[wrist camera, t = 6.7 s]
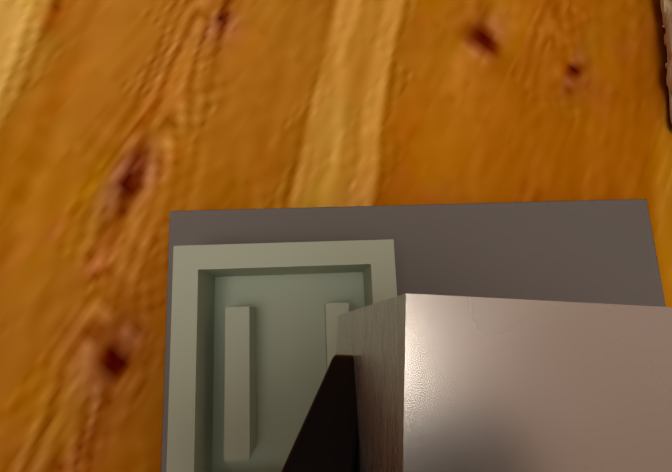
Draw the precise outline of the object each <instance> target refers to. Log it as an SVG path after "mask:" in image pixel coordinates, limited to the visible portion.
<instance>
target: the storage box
mask: <svg viewBox="0 0 672 472" xmlns="http://www.w3.org/2000/svg"><path fill="white" fill-rule="evenodd" d="M396 296H397V286H396V270H395V255H394V239H388V240H355V241H321V242H287V243H253V244H220V245H186V246H174V249H173V280H172V311H171V342H170V374H169V405H168V436H167V467H166V472H281V471H282V469H283V466H284V464H285V462H286V460H287V458H288V455H289V453H290V451H291V449H292V446H293V444H294V442H295V440H296V438H297V435H298V433H299V431H300V429H301V426H302V424H303V422H304V420H305V418H306V415H307V413H308V411H309V409H310V407H311V404H312V402H313V400H314V398H315V395H316V393H317V391H318V389H319V387H320V384H321V382H322V380H323V378H324V376H325V373H326V371H327V369H328V367H329V364H330V362H331V360H332V358H333V356H334V355H336V351H337V330H338V315H341V314H344V313H347V312H350V311H353V310H356V309H359V308H362V307H366V306H369V305H372V304H375V303H378V302H381V301H384V300H387V299H390V298H393V297H396Z"/></svg>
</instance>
